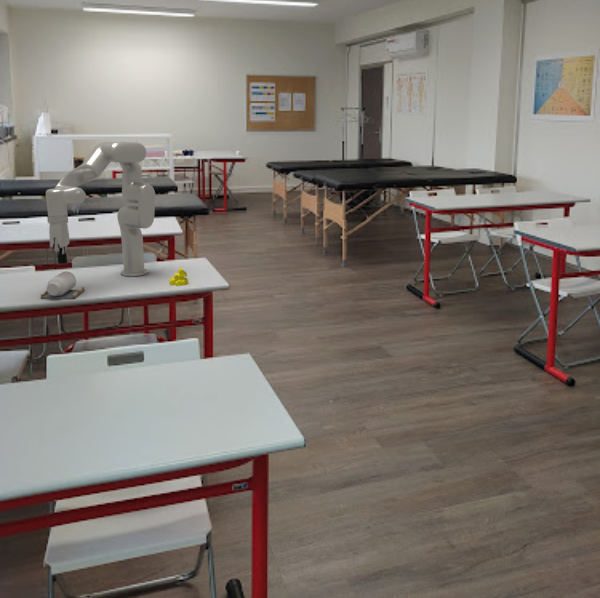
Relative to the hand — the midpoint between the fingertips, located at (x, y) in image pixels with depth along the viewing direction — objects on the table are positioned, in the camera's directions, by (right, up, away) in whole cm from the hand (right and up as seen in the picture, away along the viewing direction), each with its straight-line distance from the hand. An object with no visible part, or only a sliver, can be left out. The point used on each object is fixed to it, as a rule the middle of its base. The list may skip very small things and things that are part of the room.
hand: (62, 263), depth 283 cm
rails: (0, -13, +1) cm, 13 cm away
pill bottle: (0, -7, +7) cm, 10 cm away
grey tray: (0, -13, +1) cm, 13 cm away
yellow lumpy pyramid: (+45, -9, +17) cm, 49 cm away
